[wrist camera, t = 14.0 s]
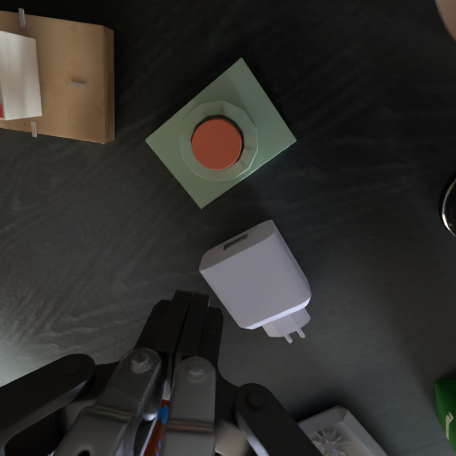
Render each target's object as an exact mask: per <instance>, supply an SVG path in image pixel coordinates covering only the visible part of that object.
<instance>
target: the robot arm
mask: <svg viewBox="0 0 456 456" xmlns="http://www.w3.org/2000/svg"><path fill="white" fill-rule="evenodd" d="M439 215H440V219H441V222H442V224H443V225H444V227H445V228H446V229H447V230H448V231H449V232H450V233H451V234H453V235H454V236H456V174H455V175H454V176H453V177H452V178H451V179H450V181H449V182H448V183H447V185H446V187H445V188H444V190H443V192H442V195H441V198H440V202H439ZM209 301H210V295H206V294H200V293H194V294H193V292H187V291H181V290H176V292H175V294H174V297H173V299H172V301H170V300H163V299H162V300H161V301H160V302H158V303H157V304H156V305H155V306H154V307H153V309H152V312H151V314H150V316H149V318H148V320H147V323H146V324H145V326H144V329H143V331H142V333H141V335H140V337H139V339H138V341H137V343H136V346H135V348H134V350H131V351H129V352H128V353H126V354H125V355H124V356H123V358H122V359H121V361H118V362H115V363H109V364H100V365H95V363H94V361H93V359H92V358H91V357H90V356H88V355H85V354H70V355H67V356H64V357H62V358H60V359H58V360H56V361H54V362H52V363H50V364H47V365H45V366H43V367H41V368H39V369H37V370H35V371H33V372H31V373H29V374H27V375H25V376H22V377H20V378H18V379H16V380H14V381H12V382H10V383H8V384H6V385H4V386H2V387H0V456H143V454H144V451H145V449H146V446H147V444H148V441H149V438H150V436H151V433H152V431H153V428H154V425H155V423H156V420H157V414H158V411H159V409H160V405H161V402H162V399H165V400H169V399H170V395H171V392H172V395H171V400H170V406H169V411H168V416H167V421H166V423H165V426H164V431H163V436H162V441H161V446H160V451H159V456H215V451H216V452H218V453H219V454H221V455H223V456H323V454H322V453H321V452H320V451H319V450H318V448H317V447H316V446H315V445H314V443H313V442H312V441H311V440H310V439H309V437H308V436H307V435H306V434H305V433H304V431H303V430H302V429H301V428H300V427H299V425H298V424H297V423H296V422H295V421H294V419H293V418H292V417H291V416H290V414H289V413H288V412H287V411H286V410H285V408H284V407H283V406H282V405H281V404H280V402H279V401H278V400H277V399H276V398H275V396H274V395H273V394H272V393H271V392H270V391H269V390H268V389H267V388H265V387H264V386H262V385H259V384H255V383H248V384H245V385H242V386H241V387H237V386H235V385H233V384H231V383H229V382H228V381H226V380H225V379H224V378H223V377H222V376H221V374H220V373H219V370H218V366H217V362H218V355H219V348H220V341H221V333H222V326H223V319H224V317H223V314H222V312H221V310H220V309H219V308H213V307H209Z"/></svg>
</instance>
